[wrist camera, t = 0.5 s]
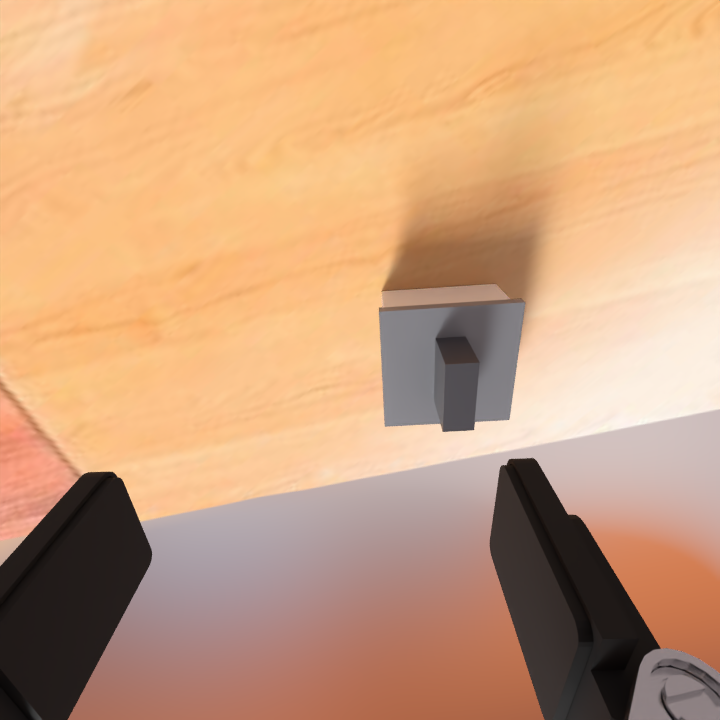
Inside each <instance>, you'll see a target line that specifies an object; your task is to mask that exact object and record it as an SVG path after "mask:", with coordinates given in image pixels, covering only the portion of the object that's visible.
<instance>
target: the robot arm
mask: <svg viewBox="0 0 720 720" xmlns="http://www.w3.org/2000/svg"><path fill="white" fill-rule="evenodd" d="M490 551H491V556H492V559H493V562H494V565H495V569H496V572H497V575H498V578H499V581H500V584H501V587H502V590H503V593H504V596H505V600H506V603H507V606H508V609H509V612H510V615H511V618H512V621H513V624H514V627H515V631H516V634H517V637H518V640H519V643H520V646H521V649H522V652H523V655H524V658H525V662H526V665H527V668H528V671H529V674H530V677H531V680H532V683H533V686H534V689H535V692H536V696H537V699H538V701H539V705H540V708H541V711H542V714H543V717H544V719H545V720H720V674H719V673H718V672H717V671H716V670H715V669H713V668H712V667H710V666H708V665H707V664H706V663H704V662H703V661H701V660H700V659H698V658H696V657H693V656H691V655H689V654H687V653H685V652H682V651H678V650H673V649H668V648H665V649H661V648H660V646H659V645H658V643H657V642H656V640H655V639H654V637H653V635H652V633H651V632H650V630H649V628H648V627H647V625H646V624H645V622H644V620H643V619H642V617H641V615H640V614H639V612H638V610H637V609H636V607H635V605H634V604H633V602H632V601H631V599H630V597H629V596H628V594H627V592H626V591H625V589H624V587H623V586H622V584H621V582H620V581H619V579H618V578H617V576H616V574H615V573H614V571H613V569H612V568H611V566H610V564H609V563H608V561H607V560H606V558H605V556H604V555H603V553H602V551H601V550H600V548H599V547H598V545H597V543H596V542H595V540H594V538H593V536H592V535H591V533H590V532H589V530H588V528H587V527H586V525H585V524H584V522H583V521H582V520H581V518H579V517H578V516H576V515H568V514H567V513H566V511H565V509H564V507H563V505H562V504H561V502H560V500H559V498H558V497H557V495H556V493H555V492H554V490H553V488H552V486H551V485H550V483H549V481H548V479H547V478H546V476H545V474H544V472H543V471H542V469H541V467H540V466H539V464H538V462H537V461H536V460H535V459H534V458H527V459H509V461H508V463H507V465H505V466H504V465H503V466H501V467H500V473H499V479H498V487H497V494H496V502H495V508H494V515H493V523H492V529H491V536H490ZM151 559H152V551H151V548H150V545H149V543H148V540H147V538H146V535H145V533H144V531H143V528H142V526H141V523H140V521H139V519H138V516H137V514H136V511H135V509H134V507H133V504H132V502H131V499H130V497H129V494H128V492H127V490H126V487H125V485H124V482H123V481H122V479H121V478H118V477H117V476H116V474H115V473H113V472H88V473H85V474H84V475H82V476H81V477H80V478H79V479H78V481H77V482H76V483H75V484H74V485H73V486H72V487H71V488H70V489H69V491H68V492H67V493H66V494H65V495H64V496H63V497H62V498H61V499H60V501H59V502H58V503H57V504H56V505H55V506H54V507H53V508H52V509H51V511H50V512H49V513H48V514H47V515H46V516H45V517H44V518H43V519H42V521H41V522H40V523H39V524H38V525H37V526H36V527H35V528H34V529H33V531H32V532H31V533H30V534H29V535H28V536H27V537H26V538H25V540H24V541H23V542H22V543H21V544H20V545H19V546H18V548H16V550H15V551H14V552H13V553H12V554H11V555H10V556H9V557H8V559H7V560H6V561H5V562H4V563H3V564H2V565H1V566H0V720H67V719H68V718H69V716H70V714H71V712H72V710H73V708H74V707H75V705H76V703H77V701H78V699H79V697H80V695H81V693H82V692H83V690H84V688H85V686H86V684H87V682H88V680H89V678H90V676H91V674H92V673H93V671H94V669H95V667H96V665H97V663H98V661H99V660H100V658H101V656H102V654H103V652H104V650H105V648H106V646H107V644H108V643H109V641H110V639H111V637H112V635H113V633H114V631H115V629H116V628H117V626H118V624H119V622H120V620H121V618H122V616H123V614H124V612H125V611H126V609H127V607H128V605H129V603H130V601H131V599H132V597H133V595H134V594H135V592H136V590H137V588H138V586H139V584H140V582H141V580H142V579H143V577H144V575H145V573H146V571H147V569H148V567H149V565H150V563H151Z"/></svg>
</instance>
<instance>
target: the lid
mask: <svg viewBox="0 0 720 720" xmlns="http://www.w3.org/2000/svg"><path fill="white" fill-rule="evenodd" d="M524 309H525V302H524V301H523V300H522V299H506V300H491V301H475V302H460V303H444V304H429V305H413V306H398V307H382V308H379V321H380V341H381V361H382V381H383V401H384V421H385V427H386V426H405V425H423V424H441V427H442V431H443V432H448V431H467V430H474V424H475V422H479V421H498V420H509V418H510V411H511V404H512V396H513V389H514V382H515V374H516V367H517V360H518V352H519V345H520V338H521V330H522V323H523V316H524Z"/></svg>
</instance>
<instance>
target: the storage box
mask: <svg viewBox="0 0 720 720" xmlns="http://www.w3.org/2000/svg"><path fill="white" fill-rule="evenodd" d="M506 299H510V298H509V297H508V296H507V295H506V294H505V293H504V292H503V291H502V290H501V289H500V288H499V287H498V286H497V285H496V284H484V285H469V286H454V287H439V288H424V289H408V290H393V291H382V307H398V306H413V305H429V304H444V303H460V302H475V301H491V300H506Z"/></svg>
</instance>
